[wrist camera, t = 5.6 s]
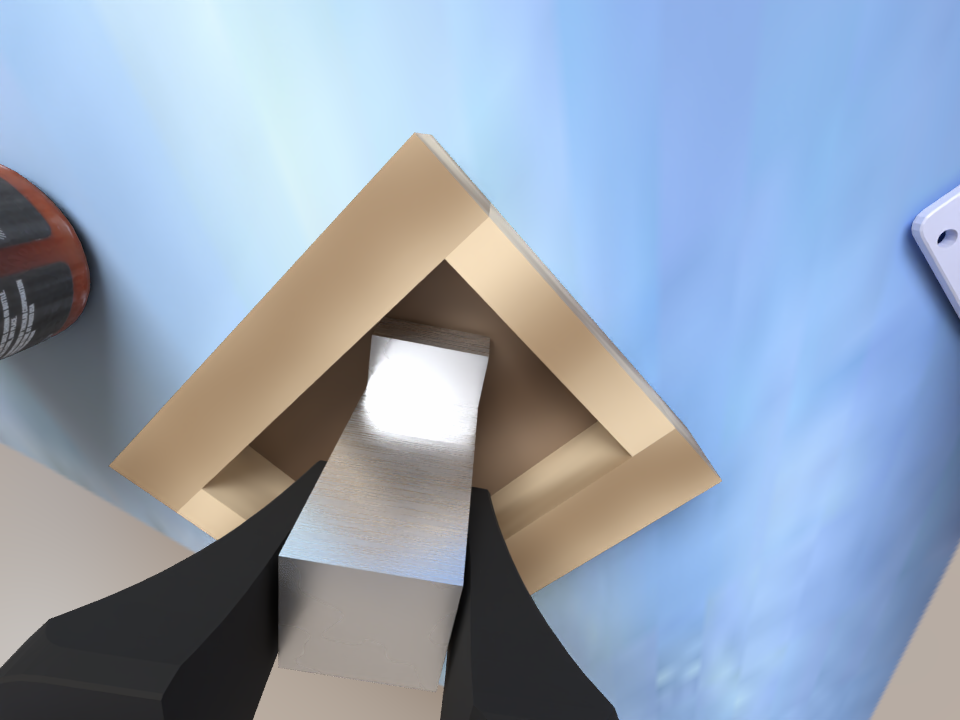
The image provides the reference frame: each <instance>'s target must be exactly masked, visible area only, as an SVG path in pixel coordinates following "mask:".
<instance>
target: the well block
mask: <svg viewBox="0 0 960 720" xmlns="http://www.w3.org/2000/svg"><path fill="white" fill-rule="evenodd" d="M383 317H388V318H393V319H399V320H404V321H409V322H414V323H420V324H425V325H430V326H435V327H441V328H446V329H451V330H456V331H462V332H467V333H472V334H478V335H483V336H488V337H490V348H489V359H488V364H487V368H486V373H485V377H484V382H483V386H482V391H481V396H480V400H479V405H478V414H477V426H476V438H475V450H474V462H473V473H472V485H471V487H477V488H482V489H487V490H488V491H489V492H490V495H491V500H492V504H493V508H494V511H495V515H496V518H497V521H498V524H499V527H500V530H501V532H502V535H503V538H504V540H505V543H506V545H507V548H508V550H509V553H510V555H511V557H512V560H513V562H514V564H515V566H516V568H517V570H518V573H519V575H520V577H521V579H522V581H523V583H524V585H525V586H526V588H527V590H528V592H529V594H530V595H532V594H533V593H535V592H537V591H538V590H540V589H542V588H543V587H545V586H547V585H548V584H550V583H552V582H553V581H555V580H557V579H558V578H560V577H562V576H563V575H565V574H567V573H569V572H570V571H572V570H574V569H575V568H577V567H579V566H580V565H582V564H584V563H585V562H587V561H589V560H590V559H592V558H594V557H595V556H597V555H599V554H600V553H602V552H604V551H605V550H607V549H609V548H610V547H612V546H614V545H616V544H617V543H619V542H621V541H622V540H624V539H626V538H627V537H629V536H631V535H632V534H634V533H636V532H637V531H639V530H641V529H642V528H644V527H646V526H647V525H649V524H651V523H652V522H654V521H656V520H657V519H659V518H661V517H663V516H664V515H666V514H668V513H669V512H671V511H673V510H674V509H676V508H678V507H679V506H681V505H683V504H684V503H686V502H688V501H689V500H691V499H693V498H694V497H696V496H698V495H699V494H701V493H703V492H704V491H706V490H708V489H709V488H711V487H713V486H715V485H716V484H718V483H720V482H721V481H722V480H721V479H720V477H719V476H718V474H717V473H716V471H715V470H714V468H713V467H712V465H711V464H710V462H709V460H708V459H707V457H706V456H705V454H704V453H703V451H702V450H701V448H700V447H699V445H698V444H697V442H696V441H695V439H694V438H693V436H692V435H691V433H690V432H689V430H688V429H687V427H686V426H685V425H684V424H683V423H682V422H681V420H680V419H679V418H678V417H677V416H676V415H675V414H674V412H673V411H672V410H671V409H670V408H669V407H668V406H667V404H666V403H665V402H664V401H663V400H662V399H661V397H660V396H659V395H658V394H657V393H656V392H655V391H654V389H653V388H652V387H651V386H650V385H649V384H648V383H647V381H646V380H645V379H644V378H643V377H642V376H641V375H640V373H639V372H638V371H637V370H636V369H635V368H634V367H633V365H632V364H631V363H630V362H629V361H628V360H627V358H626V357H625V356H624V355H623V354H622V353H621V352H620V350H619V349H618V348H617V347H616V346H615V345H614V344H613V342H612V341H611V340H610V339H609V338H608V337H607V336H606V334H605V333H604V332H603V331H602V330H601V329H600V328H599V326H598V325H597V324H596V323H595V322H594V321H593V319H592V318H591V317H590V316H589V315H588V314H587V313H586V311H585V310H584V309H583V308H582V307H581V306H580V305H579V303H578V302H577V301H576V300H575V299H574V298H573V297H572V295H571V294H570V293H569V292H568V291H567V290H566V289H565V287H564V286H563V285H562V284H561V283H560V282H559V280H558V279H557V278H556V277H555V276H554V275H553V274H552V272H551V271H550V270H549V269H548V268H547V267H546V266H545V264H544V263H543V262H542V261H541V260H540V259H539V258H538V256H537V255H536V254H535V253H534V252H533V251H532V250H531V248H530V247H529V246H528V245H527V244H526V243H525V241H524V240H523V239H522V238H521V237H520V236H519V235H518V233H517V232H516V231H515V230H514V229H513V228H512V227H511V225H510V224H509V223H508V222H507V221H506V220H505V219H504V217H503V216H502V215H501V214H500V213H499V212H498V211H497V209H496V208H495V207H494V206H493V205H492V204H491V202H490V201H489V200H488V199H487V198H486V197H485V196H484V194H483V193H482V192H481V191H480V190H479V189H478V188H477V186H476V185H475V184H474V183H473V182H472V181H471V180H470V178H469V177H468V176H467V175H466V174H465V173H464V172H463V170H462V169H461V168H460V167H459V166H458V165H457V163H456V162H455V161H454V160H453V159H452V158H451V157H450V155H449V154H448V153H447V152H446V151H445V150H444V149H443V147H442V146H441V145H440V144H439V143H438V142H437V141H436V139H435V138H434V137H433V136H432V135H428V134H421V133H414V134H413V135H412V136H411V137H410V138H409V139H408V140H407V141H406V142H405V144H404V145H403V146H402V147H401V148H400V149H399V150H398V151H397V152H396V153H395V154H394V156H393V157H392V158H391V159H390V160H389V161H388V162H387V163H386V164H385V165H384V166H383V168H382V169H381V170H380V171H379V172H378V173H377V174H376V175H375V176H374V177H373V178H372V179H371V181H370V182H369V183H368V184H367V185H366V186H365V187H364V188H363V189H362V190H361V191H360V193H359V194H358V195H357V196H356V197H355V198H354V199H353V200H352V201H351V202H350V203H349V205H348V206H347V207H346V208H345V209H344V210H343V211H342V212H341V213H340V214H339V215H338V217H337V218H336V219H335V220H334V221H333V222H332V223H331V224H330V225H329V226H328V227H327V229H326V230H325V231H324V232H323V233H322V234H321V235H320V236H319V237H318V238H317V239H316V241H315V242H314V243H313V244H312V245H311V246H310V247H309V248H308V249H307V250H306V251H305V253H304V254H303V255H302V256H301V257H300V258H299V259H298V260H297V261H296V262H295V263H294V265H293V266H292V267H291V268H290V269H289V270H288V271H287V272H286V273H285V274H284V275H283V277H282V278H281V279H280V280H279V281H278V282H277V283H276V284H275V285H274V286H273V287H272V289H271V290H270V291H269V292H268V293H267V294H266V295H265V296H264V297H263V298H262V299H261V301H260V302H259V303H258V304H257V305H256V306H255V307H254V308H253V309H252V310H251V311H250V313H249V314H248V315H247V316H246V317H245V318H244V319H243V320H242V321H241V322H240V323H239V324H238V326H237V327H236V328H235V329H234V330H233V331H232V332H231V333H230V334H229V335H228V336H227V338H226V339H225V340H224V341H223V342H222V343H221V344H220V345H219V346H218V347H217V348H216V350H215V351H214V352H213V353H212V354H211V355H210V356H209V357H208V358H207V359H206V360H205V362H204V363H203V364H202V365H201V366H200V367H199V368H198V369H197V370H196V371H195V372H194V374H193V375H192V376H191V377H190V378H189V379H188V380H187V381H186V382H185V383H184V384H183V386H182V387H181V388H180V389H179V390H178V391H177V392H176V393H175V394H174V395H173V396H172V398H171V399H170V400H169V401H168V402H167V403H166V404H165V405H164V406H163V407H162V408H161V410H160V411H159V412H158V413H157V414H156V415H155V416H154V417H153V418H152V419H151V420H150V422H149V423H148V424H147V425H146V426H145V427H144V428H143V429H142V430H141V431H140V432H139V434H138V435H137V436H136V437H135V438H134V439H133V440H132V441H131V442H130V443H129V444H128V446H127V447H126V448H125V449H124V450H123V451H122V452H121V453H120V454H119V455H118V456H117V458H116V459H115V460H114V461H113V462H112V463H111V464H110V465H109V467H111V468H112V469H114V470H115V471H117V472H118V473H120V474H121V475H123V476H124V477H125V478H127V479H128V480H130V481H131V482H133V483H134V484H136V485H137V486H139V487H140V488H141V489H143V490H144V491H146V492H147V493H149V494H150V495H152V496H153V497H155V498H156V499H158V500H159V501H160V502H162V503H163V504H165V505H166V506H168V507H169V508H171V509H172V510H174V511H175V512H176V513H178V514H179V515H181V516H182V517H184V518H185V519H187V520H188V521H190V522H191V523H193V524H194V525H195V526H197V527H198V528H200V529H201V530H203V531H204V532H206V533H207V534H209V535H210V536H212V537H213V538H214V539H216V540H218V539H220V538H221V537H223V536H225V535H226V534H228V533H229V532H230V531H232V530H233V529H235V528H236V527H238V526H239V525H241V524H242V523H243V522H245V521H246V520H247V519H249V518H250V517H251V516H253V515H254V514H256V513H257V512H258V511H260V510H261V509H262V508H264V507H265V506H266V505H267V504H269V503H270V502H271V501H272V500H274V499H275V498H276V497H277V496H279V495H280V494H281V493H282V492H283V491H285V490H286V489H287V488H288V487H289V486H291V485H292V484H293V483H294V482H295V481H296V480H297V479H299V478H300V477H301V476H302V475H303V474H304V473H305V472H306V471H308V470H309V469H310V468H311V467H312V466H313V465H314V464H315V463H316V462H318V461H320V460H323V461H328V460H329V458H330V456H331V454H332V452H333V450H334V448H335V446H336V444H337V443H338V441H339V439H340V437H341V435H342V433H343V431H344V429H345V427H346V425H347V423H348V421H349V420H350V418H351V416H352V414H353V412H354V410H355V408H356V406H357V404H358V402H359V400H360V398H361V397H362V395H363V393H364V391H365V389H366V387H367V381H368V371H369V360H370V350H371V339H372V334H373V332H374V331H375V329H376V328H377V326H378V324H379V323H380V321H381V320H382V318H383Z"/></svg>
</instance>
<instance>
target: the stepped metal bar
mask: <svg viewBox="0 0 960 720" xmlns="http://www.w3.org/2000/svg"><path fill="white" fill-rule="evenodd" d="M489 348H490V337H488V336H483V335H478V334H472V333H467V332H462V331H456V330H451V329H446V328H441V327H435V326H430V325H425V324H420V323H414V322H409V321H404V320H399V319H393V318H388V317H383V318H382V320H381V321H380V323H379V324H378V326H377V328H376V329H375V331H374V332H373V334H372V339H371V350H370V360H369V371H368V381H367V387H366V389H365V391H364V393H363V395H362V397H361V398H360V400H359V402H358V404H357V406H356V408H355V410H354V412H353V414H352V416H351V418H350V420H349V421H348V423H347V425H346V427H345V429H344V431H343V433H342V435H341V437H340V439H339V441H338V443H337V444H336V446H335V448H334V450H333V452H332V454H331V456H330V458H329V460H328V462H327V464H326V466H325V467H324V469H323V471H322V473H321V475H320V477H319V479H318V481H317V483H316V485H315V487H314V489H313V490H312V492H311V494H310V496H309V498H308V500H307V502H306V504H305V506H304V508H303V510H302V512H301V513H300V515H299V517H298V519H297V521H296V523H295V525H294V527H293V529H292V531H291V533H290V535H289V536H288V538H287V540H286V542H285V544H284V546H283V548H282V550H281V552H280V554H279V556H278V657H279V658H278V659H279V660H278V665H279V666H278V667H279V668H284V669H291V670H297V671H304V672H310V673H316V674H323V675H330V676H336V677H342V678H349V679H355V680H361V681H368V682H375V683H381V684H387V685H394V686H400V687H407V688H413V689H420V690H426V691H432V692H436V691H437V687H438V683H439V679H440V675H441V671H442V667H443V663H444V659H445V655H446V651H447V648H448V644H449V640H450V636H451V632H452V628H453V624H454V620H455V616H456V612H457V608H458V604H459V600H460V596H461V592H462V588H463V580H464V568H465V556H466V545H467V533H468V521H469V509H470V497H471V485H472V473H473V462H474V450H475V438H476V426H477V414H478V405H479V400H480V396H481V391H482V386H483V382H484V377H485V373H486V368H487V364H488V359H489Z"/></svg>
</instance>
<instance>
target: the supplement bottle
mask: <svg viewBox="0 0 960 720" xmlns="http://www.w3.org/2000/svg"><path fill="white" fill-rule="evenodd" d="M89 292H90V271H89V267H88V263H87V259H86V256H85V254H84V250H83V248H82V244H81V242H80V240H79V239H78V237H77V234H76V233H75V230H74V229H73V227H72V225H71V224H70V223H69V221H68V219H67V218H66V217H65V216H64V215H63V213H62V212H61V210H60V209H59V208H58V207H57V206H56V205H55V204H54V202H53V201H51V200H50V199H49V198H48V197H47V196H46V195H45V194H44V193H43V192H42V191H41V190H39V189H38V188H37V187H36V186H35V185H33V184H32V183H31V182H29V181H28V180H27V179H26V178H24V177H23V176H21V175H20V174H18V173H17V172H15V171H13V170H11V169H9V168H7V167H5V166H3V165H1V164H0V360H1V359H4V358H6V357H9V356H11V355H13V354H16V353H18V352H20V351H22V350H25V349H27V348H29V347H32V346H34V345H36V344H38V343H40V342H43V341H45V340H47V339H48V338H50V337H53V336H55V335H57V334H58V333H60V332H62V331H63V330H65V329H67V328H68V327H69V326H70V325H71V324H73V323H74V322H75V321H76V320H77V318H78V317H79V316H80V315H81V313H82V312H83V310H84V308H85V305H86V302H87V299H88V295H89Z"/></svg>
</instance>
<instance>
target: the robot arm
mask: <svg viewBox="0 0 960 720" xmlns="http://www.w3.org/2000/svg"><path fill="white" fill-rule="evenodd" d="M911 230H912V234H913V237H914V238H915V240H916V242H917V244H918V246H919V247H920V249H921V251H922V253H923V254H924V256H925V258H926V260H927V262H928V263H929V265H930V267H931V269H932V270H933V272H934V274H935V276H936V278H937V279H938V281H939V283H940V285H941V286H942V288H943V290H944V292H945V294H946V295H947V297H948V299H949V301H950V302H951V304H952V306H953V308H954V310H955V311H956V313H957V315H958V317H959V318H960V185H959V186H957V187H956V188H954V189H953V190H951V191H950V192H949V193H947V194H946V195H944V196H943V197H941V198H940V199H938V200H937V201H936V202H934V203H933V204H931V205H930V206H928V207H927V208H925V209H924V210H923V211H922V212H920V213H919V214H918V215H917V216H916V218H915V220H914V221H913V224H912V229H911ZM944 231H946V235H945V237H944V239H943V240H942V241H941V242H940V243H938V242H937V240H938V238H939V236H940V235H941V234H942V233H943V232H944ZM327 462H328V461H323V460H320V461H318V462H316V463H315V464H314V465H313V466H312V467H311V468H310V469H309V470H308V471H306V472H305V473H304V474H303V475H302V476H301V477H300V478H299V479H297V480H296V481H295V482H294V483H293V484H292V485H291V486H289V487H288V488H287V489H286V490H285V491H283V492H282V493H281V494H280V495H279V496H277V497H276V498H275V499H274V500H272V501H271V502H270V503H269V504H267V505H266V506H265V507H264V508H262V509H261V510H260V511H258V512H257V513H256V514H254V515H253V516H251V517H250V518H249V519H247V520H246V521H245V522H243V523H242V524H241V525H239V526H238V527H236V528H235V529H233V530H232V531H230V532H229V533H228V534H226V535H225V536H223V537H221V538H220V539H218V540H217V541H215V542H214V543H212V544H210V545H209V546H207V547H206V548H204V549H202V550H201V551H199V552H197V553H195V554H193V555H192V556H190V557H188V558H186V559H185V560H183V561H181V562H179V563H177V564H175V565H174V566H172V567H170V568H168V569H166V570H164V571H163V572H160V573H158V574H157V575H154V576H152V577H150V578H148V579H146V580H144V581H142V582H140V583H138V584H135V585H133V586H131V587H129V588H126V589H124V590H122V591H120V592H117V593H115V594H113V595H110V596H108V597H106V598H103V599H101V600H98V601H96V602H93V603H90V604H88V605H85V606H83V607H80V608H77V609H75V610H72V611H70V612H67V613H64V614H62V615H59V616H57V617H54V618H51V619H49V620H48V621H47V622H46V623H45V624H44V625H43V626H42V627H41V628H39V629H38V630H37V631H36V632H35V633H34V634H33V635H32V636H31V637H30V638H29V639H28V640H27V641H26V642H25V643H24V644H23V645H22V646H21V647H20V648H19V649H18V650H17V651H16V653H14V654H13V655H12V656H11V657H10V659H9V660H8V661H7V662H6V663H5V664H4V665H3V666H2V667H1V668H0V720H253V718H254V715H255V712H256V709H257V707H258V704H259V701H260V698H261V696H262V693H263V691H264V688H265V685H266V682H267V680H268V677H269V675H270V672H271V669H272V667H273V664H274V661H275V659H276V656H277V654H278V556H279V554H280V552H281V550H282V548H283V546H284V544H285V542H286V540H287V538H288V536H289V535H290V533H291V531H292V529H293V527H294V525H295V523H296V521H297V519H298V517H299V515H300V513H301V512H302V510H303V508H304V506H305V504H306V502H307V500H308V498H309V496H310V494H311V492H312V490H313V489H314V487H315V485H316V483H317V481H318V479H319V477H320V475H321V473H322V471H323V469H324V467H325V466H326V464H327ZM440 720H619V719H618V716H617V713H616V710H615V708H614V706H613V705H612V704H611V703H610V702H609V701H608V700H607V699H606V698H605V696H604V695H603V694H602V693H601V692H600V691H599V690H598V689H597V688H596V686H595V685H594V684H593V683H592V682H591V681H590V680H589V679H588V678H587V677H586V675H585V674H584V673H583V672H582V670H581V669H580V668H579V667H578V665H577V664H576V663H575V662H574V660H573V659H572V658H571V656H570V655H569V654H568V652H567V651H566V650H565V648H564V647H563V645H562V644H561V642H560V641H559V640H558V638H557V637H556V635H555V634H554V633H553V631H552V630H551V628H550V627H549V625H548V624H547V622H546V621H545V619H544V618H543V616H542V614H541V613H540V611H539V609H538V608H537V606H536V604H535V603H534V601H533V599H532V597H531V596H530V594H529V592H528V590H527V588H526V586H525V585H524V583H523V581H522V579H521V577H520V575H519V573H518V570H517V568H516V566H515V564H514V562H513V560H512V557H511V555H510V553H509V550H508V548H507V545H506V543H505V540H504V538H503V535H502V532H501V530H500V527H499V524H498V521H497V518H496V515H495V511H494V508H493V504H492V500H491V495H490V492H489V491H488V490H487V489H482V488H477V487H471V497H470V509H469V521H468V533H467V545H466V556H465V568H464V580H463V588H462V592H461V596H460V600H459V604H458V608H457V612H456V616H455V620H454V624H453V628H452V632H451V636H450V640H449V644H448V648H447V664H446V675H445V684H444V692H443V701H442V710H441V718H440Z"/></svg>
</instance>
